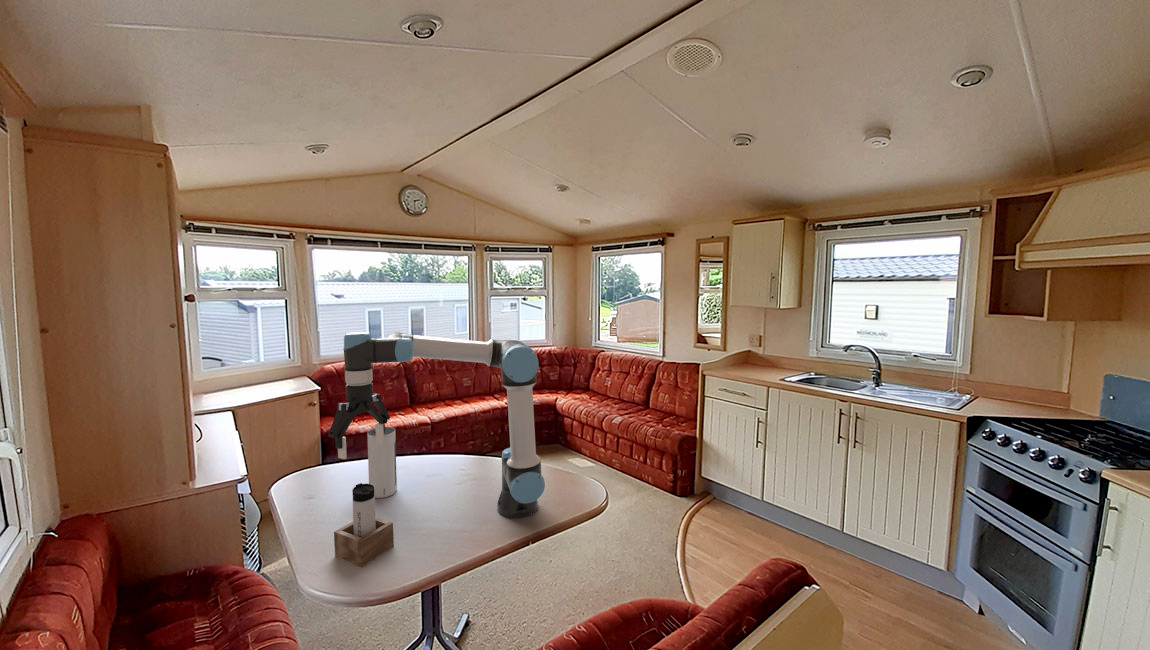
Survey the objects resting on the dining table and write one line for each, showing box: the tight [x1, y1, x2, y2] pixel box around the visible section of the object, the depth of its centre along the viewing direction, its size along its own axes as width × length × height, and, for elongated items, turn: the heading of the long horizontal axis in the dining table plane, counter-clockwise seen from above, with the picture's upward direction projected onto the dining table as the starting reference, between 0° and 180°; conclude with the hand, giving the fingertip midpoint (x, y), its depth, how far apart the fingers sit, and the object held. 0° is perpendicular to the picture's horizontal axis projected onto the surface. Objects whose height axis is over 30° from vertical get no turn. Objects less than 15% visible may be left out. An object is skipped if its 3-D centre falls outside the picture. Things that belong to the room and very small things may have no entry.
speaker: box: [366, 426, 398, 499], centre depth 182 cm, size 11×10×26 cm
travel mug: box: [351, 482, 376, 538], centre depth 142 cm, size 6×7×20 cm
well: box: [333, 516, 395, 568], centre depth 143 cm, size 12×12×8 cm
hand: (362, 450), depth 140 cm, fingers open, 13 cm apart
